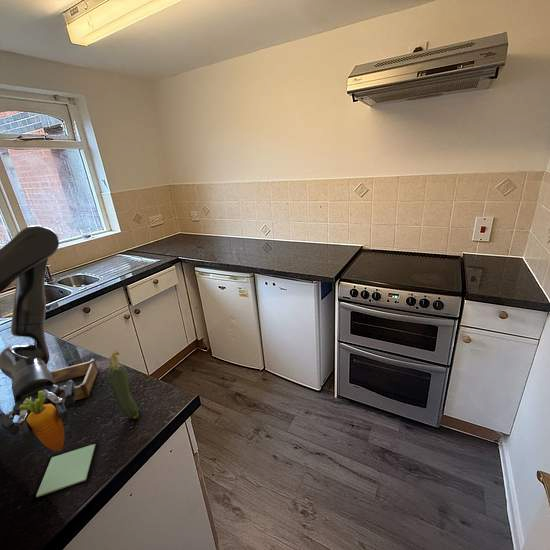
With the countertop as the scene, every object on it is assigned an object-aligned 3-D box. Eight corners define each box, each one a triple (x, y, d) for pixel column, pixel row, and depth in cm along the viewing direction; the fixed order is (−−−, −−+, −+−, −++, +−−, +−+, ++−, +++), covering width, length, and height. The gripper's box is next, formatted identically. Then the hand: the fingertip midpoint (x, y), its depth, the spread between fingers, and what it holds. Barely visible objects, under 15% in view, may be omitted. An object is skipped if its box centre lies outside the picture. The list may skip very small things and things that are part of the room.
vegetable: (122, 426, 75) (97, 361, 67) (123, 414, 78) (99, 351, 71) (141, 419, 76) (119, 354, 69) (141, 408, 80) (119, 345, 73)
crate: (33, 412, 82) (27, 399, 81) (50, 382, 94) (45, 371, 92) (89, 396, 86) (84, 384, 84) (98, 369, 97) (94, 358, 96)
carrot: (45, 466, 60) (13, 410, 55) (47, 448, 64) (18, 394, 59) (73, 452, 63) (46, 397, 57) (73, 436, 66) (48, 383, 61)
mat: (36, 497, 60) (35, 496, 60) (52, 458, 68) (51, 457, 68) (86, 480, 62) (85, 479, 62) (95, 444, 70) (95, 443, 70)
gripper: (-14, 391, 64) (-10, 437, 52) (63, 357, 73) (81, 390, 61) (1, 417, 67) (8, 466, 55) (74, 381, 76) (92, 417, 64)
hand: (46, 426), depth 58 cm, fingers closed on carrot, 5 cm apart
